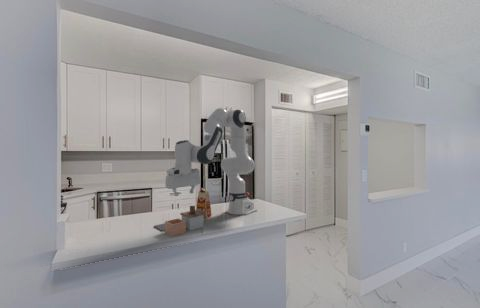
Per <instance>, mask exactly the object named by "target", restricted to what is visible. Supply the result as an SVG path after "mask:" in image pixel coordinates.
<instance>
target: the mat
mask: <svg viewBox="0 0 480 308" xmlns="http://www.w3.org/2000/svg"><path fill="white" fill-rule="evenodd" d="M153 227H154V228H155V229H157V230H159V231H160V232H165V222H164V223H159V224H155V225H153Z"/></svg>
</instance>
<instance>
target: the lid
mask: <svg viewBox="0 0 480 308" xmlns="http://www.w3.org/2000/svg"><path fill="white" fill-rule="evenodd" d="M179 214H180V215H181V216H182V215H183V216H185V217H188V218H193V217H197V216H201V215H205V213H202V212H199V211H196V205H190V206H189V211H185V212H180V213H179Z"/></svg>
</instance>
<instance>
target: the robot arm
mask: <svg viewBox="0 0 480 308" xmlns="http://www.w3.org/2000/svg"><path fill="white" fill-rule="evenodd" d="M246 118H247V116H246V113H245V112H244V111H243V110H242V109H232V110H226V109H224V108H221V107H219V108H217V109H215V110H214V111H212V113H211V114H210V115H209V116H208V118H207V119H206V121H205V124H204V130H205V132H206V133H207V134H208V135H209V136H210V137H209V139H208V141H207V144H204V145H200V146H198V145H196V144H195V145H194V144H193V143H192V142H190V140H189V139H188V140H186V139H185V140H180V141H177V142H175V146H174V159H175V163H174V166H173V167H172V168H169V169H167V170H166V174H167V175H166V176H165V188H167V189H168V190H172V192H173V195H174V197H178V196H179V192H178V191H177V188H179V189H180V188H185V187H191V188H190V189H189V194H194V190H195V188H196V185H197V186H198V185H200V184H201V183H202V182H201V175H200V174H201V173H200V172H201V171H200V170H199V169H198V168H192V163H194V164H195V163H196V164H204V165H208V164H209V165H210V164H211V163H212V162H213V160H214V159H215V156H216V151H217V149H218V147H219V144H220V142H221V139H222V136H223V133H224V131H223V129H224V128H230V135H229V139H230V140H229V141H230V142H229V148H230V151H231V152H234V153H235V155H236V156H233V157H232V156H231V157H230V156H229V157H225V158H223V159H222V160H221V162H220V168H221V170H222V171H223V172H224V173H225V174H226V176H227V178H228V183H229V193H228V199H229V200H228V208H227V213H228V214H231V215H235V216H236V215H238V216H239V215H241V216H242V215H245V216H246V215H249V214H253V213H254V212H257V211H258V209H257V208H256V207H255V204H254V201H252V200H251V199H250V198H249V197H248V196H250V192H246V181H245V180H244V179H243V178H242V177H241V176H240V174H248V173H252V172H253V171H254V170H255V167H256V163H255V161H254V160H253V158H252V157H250V155H249V153H248V151H247V145H246V144H247V143H246V142H247V141H246V140H247V136H246V135H247V133H246V126H245V124H246V121H247V119H246Z"/></svg>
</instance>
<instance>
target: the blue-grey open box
mask: <svg viewBox="0 0 480 308" xmlns="http://www.w3.org/2000/svg"><path fill="white" fill-rule="evenodd" d="M181 220H183V221H185V222H186V230H188V231H193V230H196V229H201V228H204V220H203V215H201V216H197V217H193V218H188V217H185V216H183V215H181ZM200 227H201V228H200Z"/></svg>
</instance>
